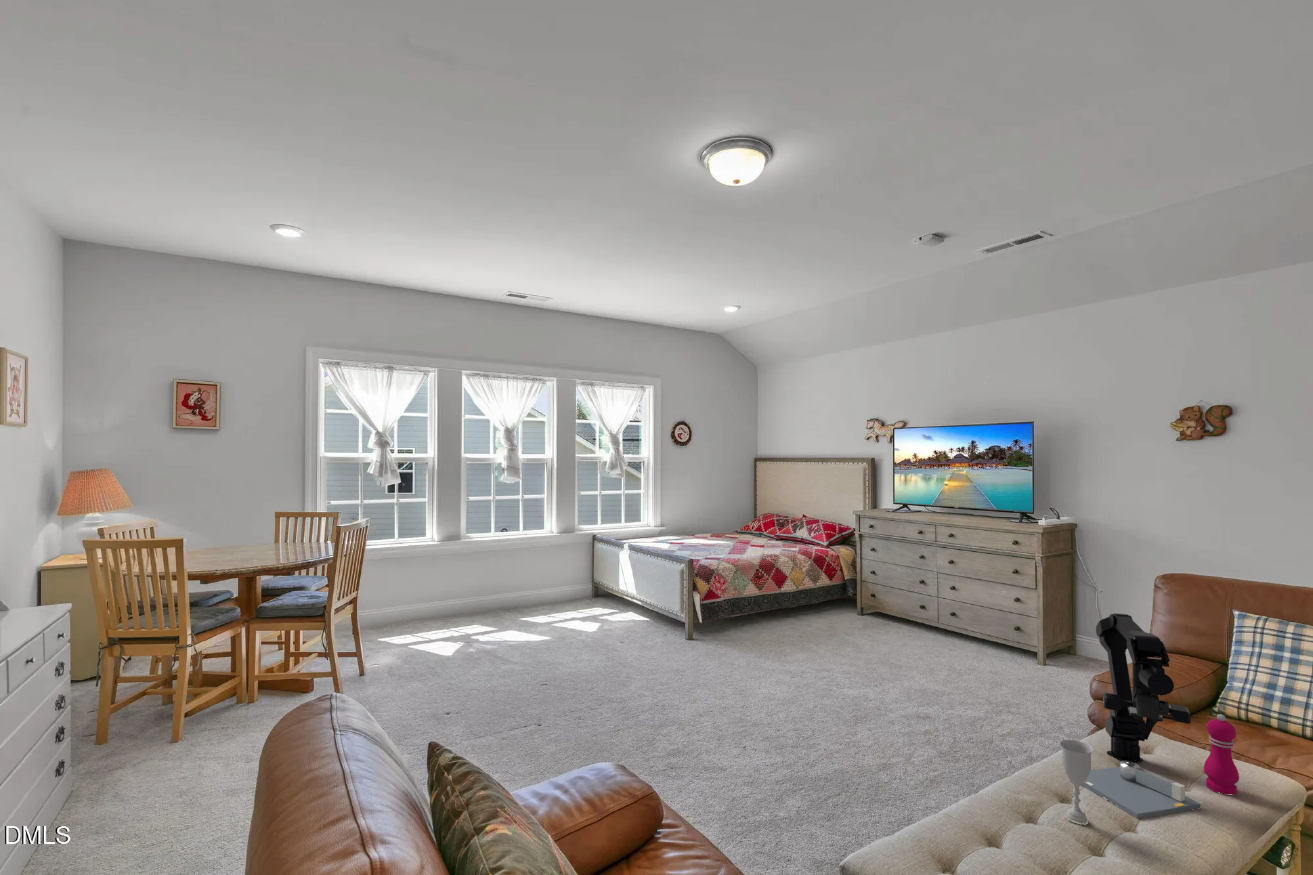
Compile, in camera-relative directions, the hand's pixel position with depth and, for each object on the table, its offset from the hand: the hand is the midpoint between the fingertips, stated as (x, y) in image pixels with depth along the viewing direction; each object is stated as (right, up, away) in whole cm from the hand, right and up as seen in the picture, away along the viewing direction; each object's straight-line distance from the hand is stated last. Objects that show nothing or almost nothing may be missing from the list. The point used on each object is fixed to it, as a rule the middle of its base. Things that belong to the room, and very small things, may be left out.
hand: (1145, 739), depth 177 cm
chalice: (-30, -12, -17) cm, 37 cm away
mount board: (-7, -12, -5) cm, 15 cm away
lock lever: (-2, -11, -5) cm, 12 cm away
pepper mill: (+18, -12, -3) cm, 22 cm away
